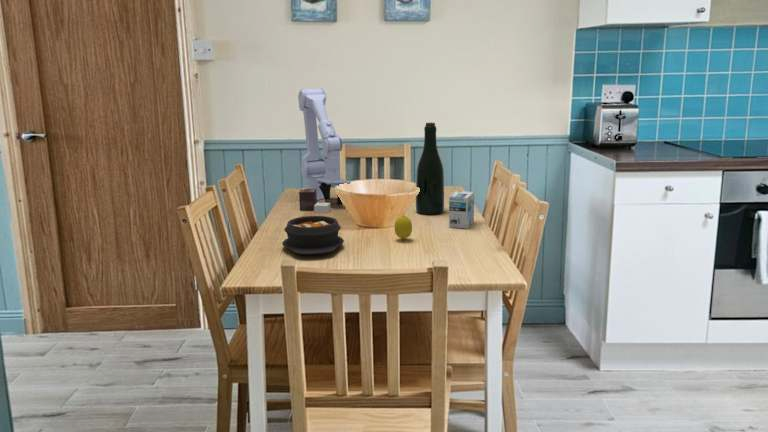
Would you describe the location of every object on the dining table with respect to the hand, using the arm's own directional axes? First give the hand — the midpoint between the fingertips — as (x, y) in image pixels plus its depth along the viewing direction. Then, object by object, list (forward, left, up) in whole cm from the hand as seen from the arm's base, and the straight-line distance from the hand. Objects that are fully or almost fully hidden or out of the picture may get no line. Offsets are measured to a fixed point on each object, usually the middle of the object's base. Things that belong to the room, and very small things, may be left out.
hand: (333, 203), depth 252 cm
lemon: (+30, +45, -2) cm, 54 cm away
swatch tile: (-2, -7, -1) cm, 7 cm away
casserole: (+50, +24, -2) cm, 55 cm away
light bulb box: (+4, +54, -2) cm, 54 cm away
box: (+7, -7, -2) cm, 10 cm away
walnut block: (0, 0, -1) cm, 1 cm away
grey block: (+8, 0, -2) cm, 8 cm away
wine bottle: (-8, +37, -2) cm, 38 cm away
